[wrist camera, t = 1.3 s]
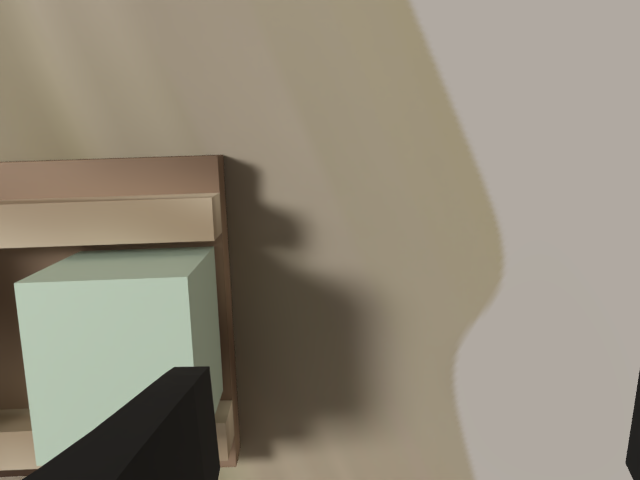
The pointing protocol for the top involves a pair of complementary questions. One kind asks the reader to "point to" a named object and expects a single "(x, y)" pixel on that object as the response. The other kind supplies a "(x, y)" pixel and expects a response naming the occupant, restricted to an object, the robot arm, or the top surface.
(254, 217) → the top surface
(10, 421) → the track
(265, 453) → the top surface
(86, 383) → the block
